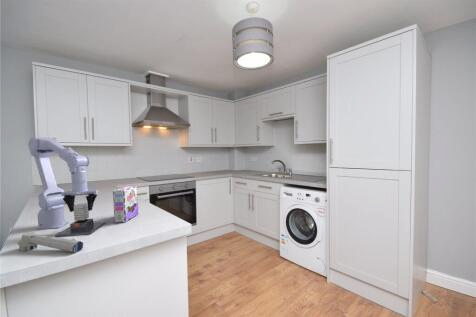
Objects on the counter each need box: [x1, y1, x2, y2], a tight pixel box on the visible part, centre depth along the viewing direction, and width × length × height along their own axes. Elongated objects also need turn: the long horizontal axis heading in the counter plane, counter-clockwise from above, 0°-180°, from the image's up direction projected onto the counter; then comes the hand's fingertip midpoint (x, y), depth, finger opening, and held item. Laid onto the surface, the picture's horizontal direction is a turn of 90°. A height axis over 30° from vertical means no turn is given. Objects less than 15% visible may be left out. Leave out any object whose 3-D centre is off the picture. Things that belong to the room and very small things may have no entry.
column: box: [73, 202, 90, 222], centre depth 99 cm, size 4×4×7 cm
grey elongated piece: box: [17, 231, 84, 254], centre depth 80 cm, size 5×7×25 cm
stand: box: [54, 218, 107, 238], centre depth 100 cm, size 14×14×4 cm
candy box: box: [112, 185, 139, 224], centre depth 114 cm, size 14×6×16 cm, turn 179°
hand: (81, 210), depth 99 cm, fingers open, 7 cm apart
